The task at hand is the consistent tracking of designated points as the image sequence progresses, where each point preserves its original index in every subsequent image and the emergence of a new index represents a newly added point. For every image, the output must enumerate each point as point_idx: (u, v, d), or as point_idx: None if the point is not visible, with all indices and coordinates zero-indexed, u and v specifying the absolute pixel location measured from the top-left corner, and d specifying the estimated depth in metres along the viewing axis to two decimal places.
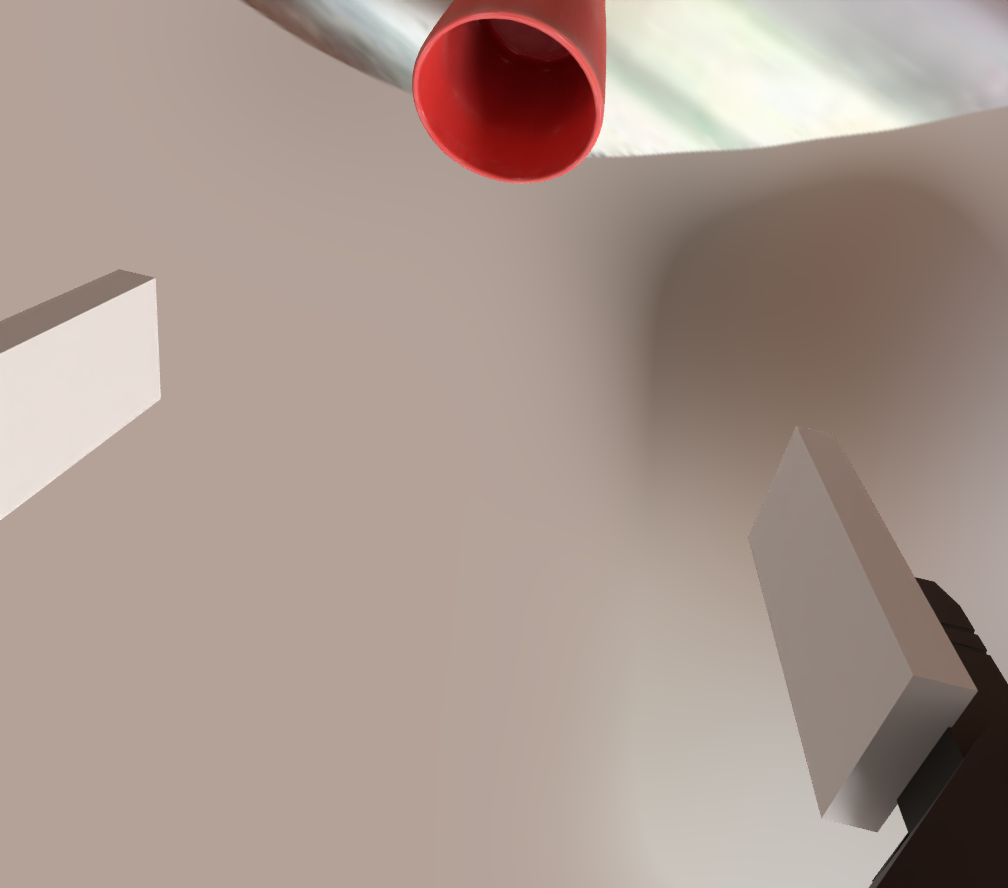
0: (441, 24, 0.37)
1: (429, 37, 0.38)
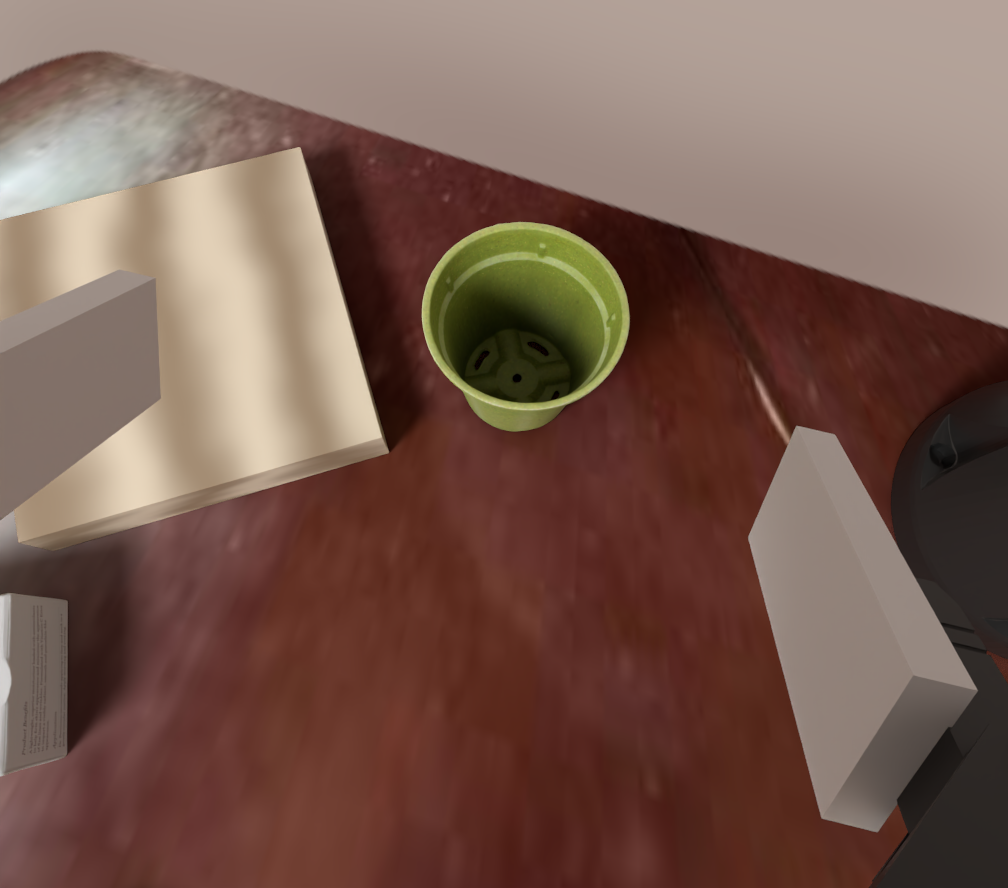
0: None
1: None
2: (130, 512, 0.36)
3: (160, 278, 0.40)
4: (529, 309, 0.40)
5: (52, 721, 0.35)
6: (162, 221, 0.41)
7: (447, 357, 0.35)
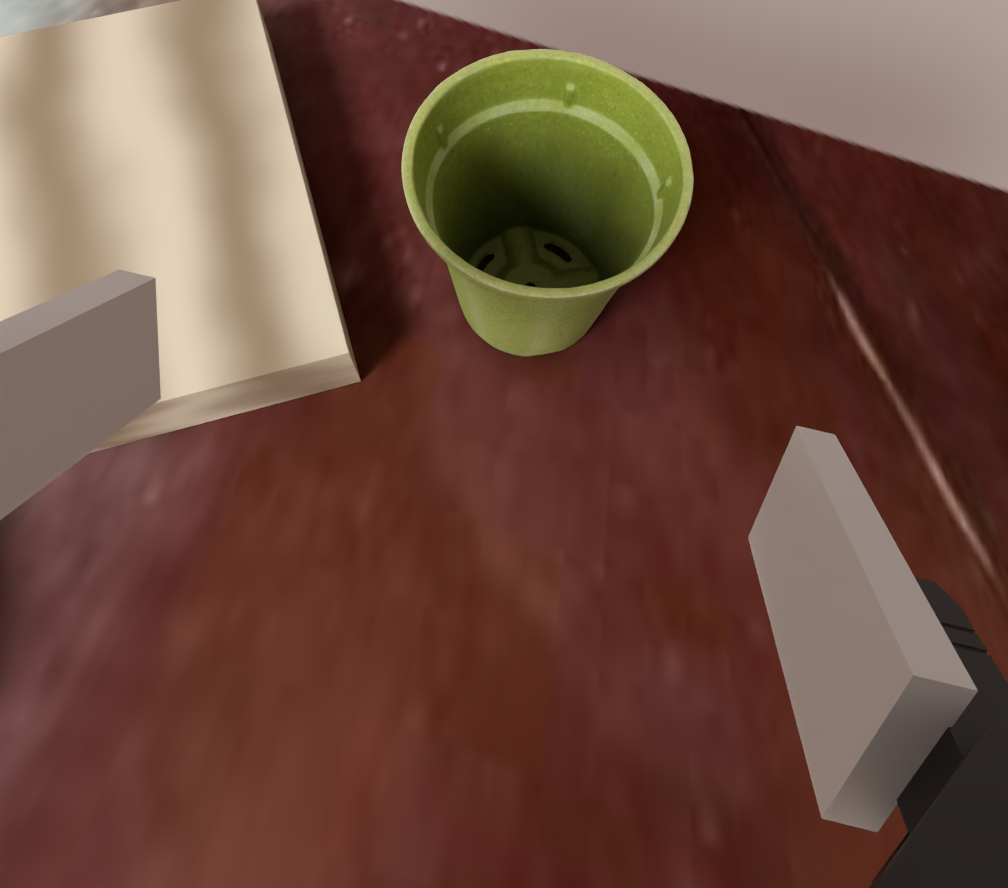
0: None
1: None
2: None
3: (60, 143, 0.30)
4: (548, 196, 0.31)
5: None
6: (67, 73, 0.31)
7: (437, 234, 0.25)
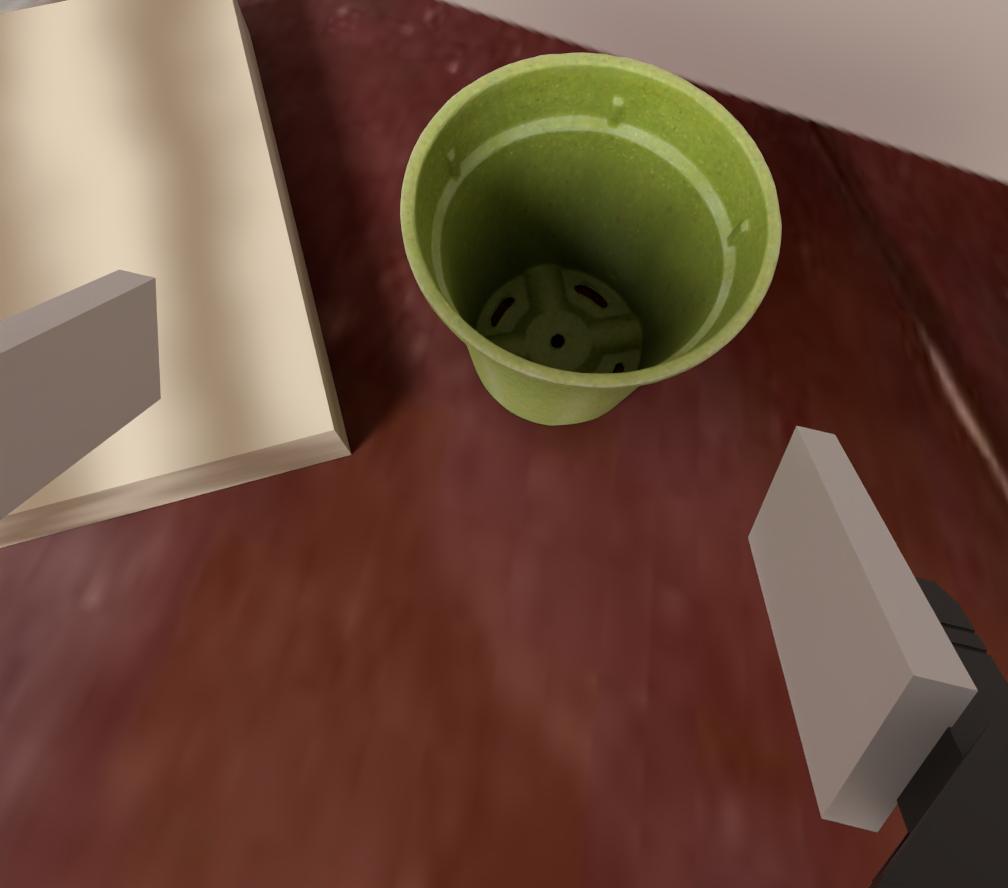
0: None
1: None
2: None
3: None
4: (581, 230, 0.25)
5: None
6: None
7: (446, 291, 0.20)
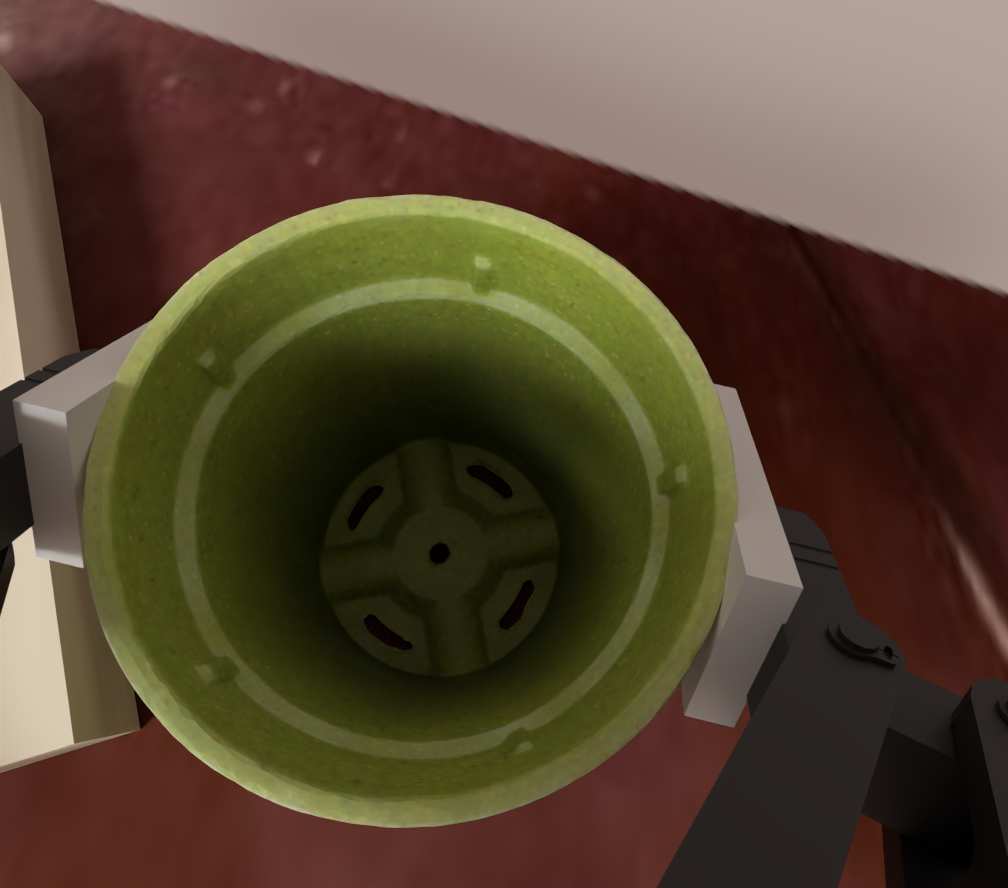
0: None
1: None
2: None
3: None
4: (467, 405, 0.18)
5: None
6: None
7: (197, 583, 0.12)
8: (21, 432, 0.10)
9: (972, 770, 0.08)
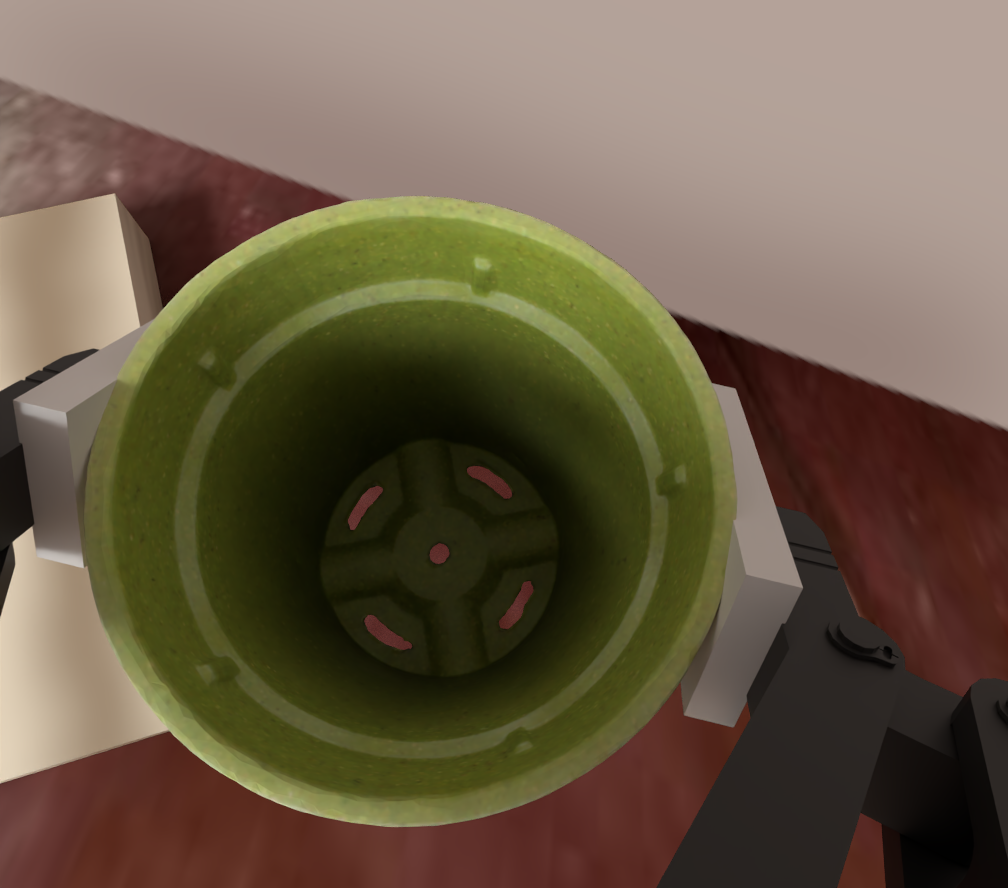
0: None
1: None
2: None
3: None
4: (466, 405, 0.18)
5: None
6: None
7: (198, 584, 0.12)
8: (21, 432, 0.10)
9: (972, 770, 0.08)
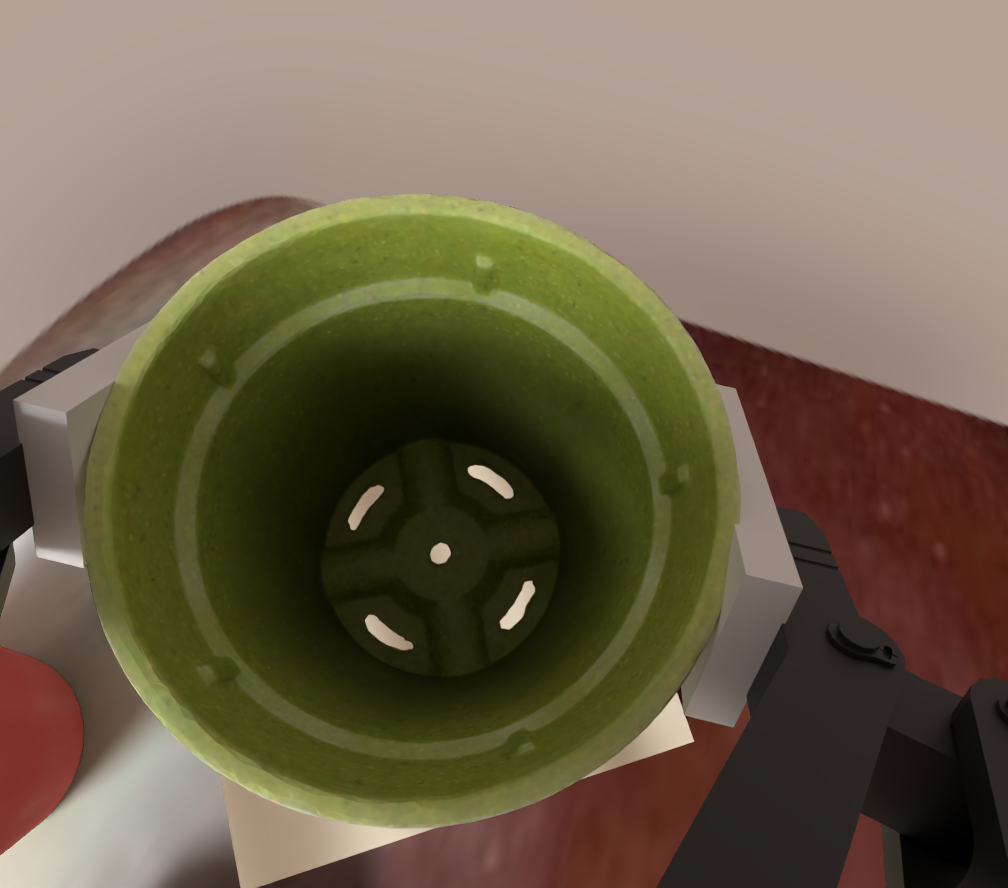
0: None
1: None
2: (379, 845, 0.28)
3: None
4: (467, 404, 0.18)
5: None
6: None
7: (198, 583, 0.12)
8: (21, 432, 0.10)
9: (972, 769, 0.08)
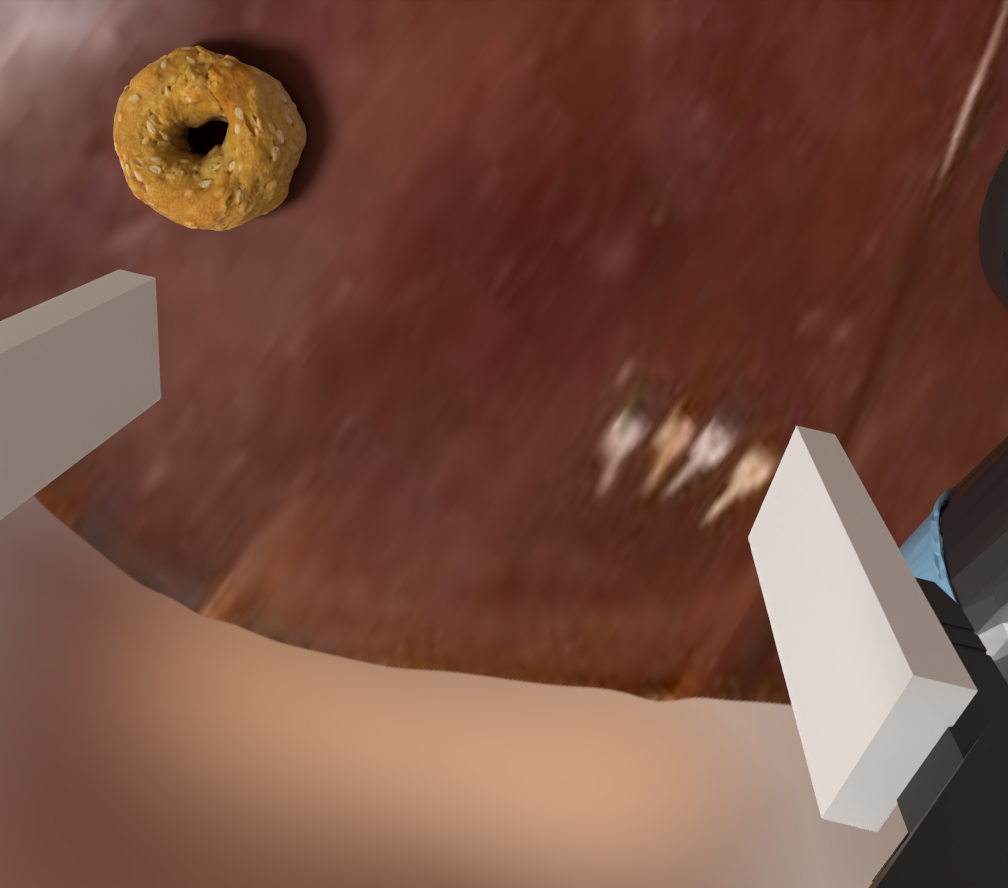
0: None
1: None
2: None
3: None
4: None
5: None
6: None
7: None
8: None
9: None
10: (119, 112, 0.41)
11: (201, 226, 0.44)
